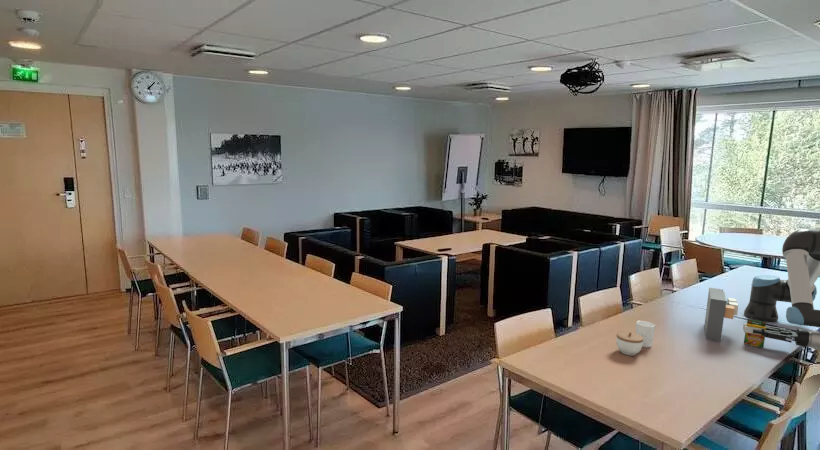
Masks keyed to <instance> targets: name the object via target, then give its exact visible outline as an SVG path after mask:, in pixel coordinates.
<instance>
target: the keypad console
mask: <svg viewBox="0 0 820 450" xmlns="http://www.w3.org/2000/svg"><path fill="white" fill-rule="evenodd" d="M727 300H728V298H727V295H726V292H725V291H724V289H721V288H715V287H709V288H708V294H707V300H706V301H707V303H706V311H705V318H704V335H705V340H709V341H715V342H719V343H720V342H722V335H723V326H724V321H725V320H724V319H725V318H724V313H725V305H727Z"/></svg>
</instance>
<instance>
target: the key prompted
mask: <svg viewBox="0 0 820 450" xmlns="http://www.w3.org/2000/svg"><path fill="white" fill-rule="evenodd" d="M734 316H735V315H734V306H730V305H725V313H724V319H730V320H733V319H734Z"/></svg>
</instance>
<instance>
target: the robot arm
mask: <svg viewBox="0 0 820 450" xmlns="http://www.w3.org/2000/svg"><path fill="white" fill-rule="evenodd" d="M781 252H782V257H784V259H785V263H786V270H787V271H786V272H787V279H780V277H779V276H776V275H769V274H767V275H766V274H763V275H761V274H760V275H756V276H754V277H753V278H752V282H751V284H750V285H751V289H750V295H749V297H750V298H749V301H748V303H747V306H746V307H745V309H744V311H743V316H745V317H746V318H747V319H750V320H755V321H761V322H766V323H777V322H778V321H779V313H778V311H777V307H776V306H777V302H784V303H790V304H791V306H789V307H787V308H786V311H785V318H786V321H787V322H788V323H789V324H793V325H796V326H797V325H798V326H804V327H805V326H806V327H813V328H814V327H815V328H820V309H815V307H814V301H815V299H816V296H817V294H818V290H817V286H816V285H815V283H816V282H817V280H818V278H819V277H820V229H812V228H801V229H796V231H793V232H792V233H790V234H789V235H788V236H787V237H786V239H785V240H784V242H783V245H782V249H781ZM746 325H747V323H743V327H742V330H743V332H744V333H745V332H747V333H753V334H759V335H761V334H762V336H764V337H765V338H767V339H773V340H776V341H777V340H778V341H782V342H787V343H790V344H791V343H792V342H795V345H796V346H798V347H799V346H800V347H808V348H811V349H813V350H820V331H817V330H808V329H804V328H796V331H793V330H791V329H788V328H787V327H777V326H771V325H770V326H769V325H766V330H764V328H762V329H760V328H754V327H748V326H746Z"/></svg>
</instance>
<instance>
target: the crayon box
mask: <svg viewBox="0 0 820 450" xmlns="http://www.w3.org/2000/svg"><path fill="white" fill-rule="evenodd" d="M756 322H757V323H756ZM746 324H747V325H746V326H748V327H754V328H760V329H762V328H764V330H766V326H767V322H764V321H758V320H754V319H751V318H747V321H746ZM765 339H766V337H764V336H762V334H761V335H759V334H753V333H747V332H744V338H743V344H744V345H747V346H753V347H758V348H764V346H765V345H764V344H765Z"/></svg>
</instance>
